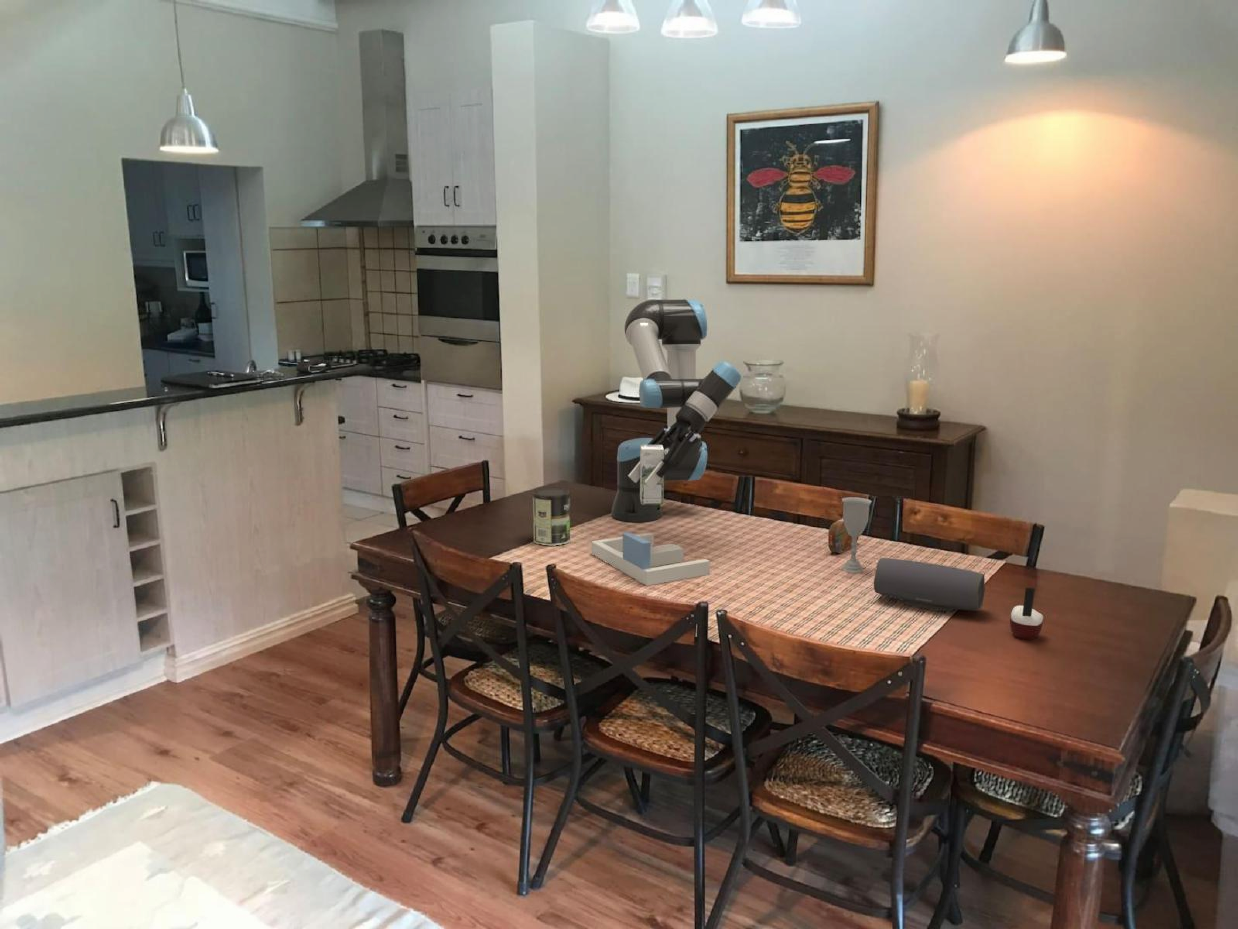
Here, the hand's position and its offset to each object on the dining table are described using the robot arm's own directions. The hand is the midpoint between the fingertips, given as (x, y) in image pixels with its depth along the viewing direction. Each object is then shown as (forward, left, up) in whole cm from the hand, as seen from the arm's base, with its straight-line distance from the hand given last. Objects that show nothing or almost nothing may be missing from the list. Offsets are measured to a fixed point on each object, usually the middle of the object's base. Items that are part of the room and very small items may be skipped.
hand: (640, 482), depth 247 cm
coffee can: (-31, -10, -22) cm, 39 cm away
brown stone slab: (+13, +56, -22) cm, 62 cm away
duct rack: (-1, +3, -22) cm, 22 cm away
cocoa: (+79, +47, -22) cm, 95 cm away
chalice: (+28, +46, -22) cm, 58 cm away
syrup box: (0, +3, -6) cm, 7 cm away
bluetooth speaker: (+56, +43, -22) cm, 74 cm away
